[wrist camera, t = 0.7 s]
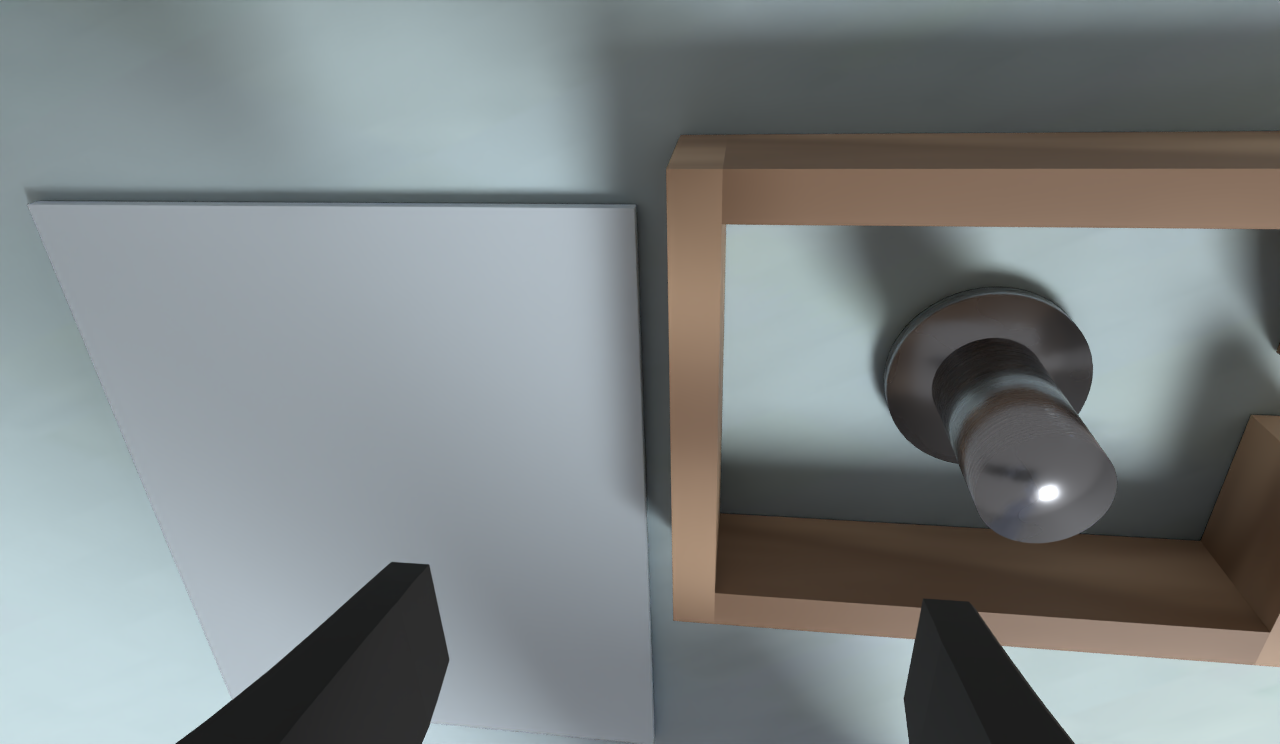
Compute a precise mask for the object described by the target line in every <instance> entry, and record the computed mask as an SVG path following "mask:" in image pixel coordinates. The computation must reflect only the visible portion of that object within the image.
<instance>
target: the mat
mask: <svg viewBox="0 0 1280 744" xmlns="http://www.w3.org/2000/svg"><path fill="white" fill-rule="evenodd" d="M27 206H28V209H29V211H30V213H31V216H32V218H33V221H34V223H35V226H36V228H37V230H38V233H39V235H40V238H41V240H42V242H43V245H44V247H45V250H46V252H47V254H48V257H49V259H50V262H51V264H52V267H53V269H54V271H55V274H56V276H57V279H58V281H59V283H60V286H61V288H62V291H63V293H64V296H65V298H66V300H67V303H68V305H69V308H70V310H71V312H72V315H73V317H74V320H75V322H76V325H77V327H78V329H79V332H80V334H81V337H82V339H83V341H84V344H85V346H86V349H87V351H88V354H89V356H90V358H91V361H92V363H93V366H94V368H95V370H96V373H97V375H98V378H99V380H100V382H101V385H102V387H103V390H104V392H105V395H106V397H107V399H108V402H109V404H110V407H111V409H112V411H113V414H114V416H115V419H116V421H117V424H118V426H119V428H120V431H121V433H122V436H123V438H124V440H125V443H126V445H127V448H128V450H129V453H130V455H131V457H132V460H133V462H134V465H135V467H136V469H137V472H138V474H139V477H140V479H141V482H142V484H143V486H144V489H145V491H146V494H147V496H148V498H149V501H150V503H151V506H152V508H153V511H154V513H155V515H156V518H157V520H158V523H159V525H160V527H161V530H162V532H163V535H164V537H165V539H166V542H167V544H168V547H169V549H170V552H171V554H172V556H173V559H174V561H175V564H176V566H177V568H178V571H179V573H180V576H181V578H182V581H183V583H184V585H185V588H186V590H187V593H188V595H189V597H190V600H191V602H192V605H193V607H194V610H195V612H196V614H197V617H198V619H199V622H200V624H201V626H202V629H203V631H204V634H205V636H206V639H207V641H208V643H209V646H210V648H211V651H212V653H213V655H214V658H215V660H216V663H217V665H218V667H219V670H220V672H221V675H222V677H223V680H224V682H225V684H226V687H227V689H228V692H229V694H230V696H231V699H232V700H233V699H234V698H235V697H236V696H238V695H239V694H240V693H241V692H243V691H244V690H245V689H246V688H247V687H249V686H250V685H251V684H252V683H254V682H255V681H256V680H257V679H259V678H260V677H261V676H262V675H264V674H265V673H266V672H267V671H268V670H270V669H271V668H272V667H273V666H274V665H275V664H277V663H278V662H279V661H280V660H281V659H282V658H284V657H285V656H286V655H287V654H288V653H289V652H290V651H292V650H293V649H294V648H295V647H296V646H297V645H298V644H300V643H301V642H302V641H303V640H304V639H305V638H306V637H308V636H309V635H310V634H311V633H312V632H313V631H314V630H316V629H317V628H318V627H319V626H320V625H321V624H322V623H323V622H325V621H326V620H327V619H328V618H329V617H330V616H331V615H332V614H333V613H335V612H336V611H337V610H338V609H339V608H340V607H341V606H342V605H343V604H345V603H346V602H347V601H348V600H349V599H350V598H351V597H352V596H353V595H354V594H356V593H357V592H358V591H359V590H360V589H361V588H362V587H363V586H365V585H366V584H367V583H368V582H369V581H370V580H371V579H372V578H374V577H375V576H376V575H377V574H378V573H379V572H380V571H381V570H383V569H384V568H385V567H386V566H387V565H388V564H389V563H391V562H402V563H417V564H429V565H430V570H431V574H432V579H433V584H434V589H435V593H436V598H437V603H438V607H439V612H440V617H441V622H442V626H443V631H444V636H445V640H446V645H447V650H448V654H449V659H450V660H449V664H448V667H447V670H446V674H445V677H444V681H443V684H442V687H441V691H440V694H439V697H438V701H437V704H436V707H435V710H434V713H433V716H432V719H431V722H430V723H434V724H444V725H454V726H464V727H475V728H485V729H495V730H505V731H516V732H526V733H536V734H546V735H556V736H567V737H577V738H587V739H597V740H608V741H618V742H628V743H638V744H654V738H655V732H654V703H653V674H652V646H651V617H650V588H649V560H648V531H647V502H646V474H645V445H644V416H643V388H642V359H641V330H640V302H639V273H638V245H637V216H636V204H463V203H280V202H97V201H36V202H33V203H30V204H27Z"/></svg>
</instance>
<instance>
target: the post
mask: <svg viewBox="0 0 1280 744" xmlns="http://www.w3.org/2000/svg"><path fill="white" fill-rule="evenodd" d="M1092 376H1093V364H1092V356H1091V352H1090V349H1089V346H1088V343H1087V341H1086V339H1085V337H1084V336H1083V334H1082V332H1081V331H1080V330H1079V328H1078V327H1077V326H1076V325H1075V323H1074V322H1073V321H1072V320H1071V319H1070V318H1069V316H1068V315H1067V314H1066V313H1065V312H1063V311H1062V310H1061V309H1060V308H1059V307H1058V306H1056V305H1055V304H1054V303H1052V302H1051V301H1049V300H1047V299H1045V298H1043V297H1041V296H1039V295H1037V294H1034V293H1031V292H1028V291H1025V290H1020V289H1015V288H1006V287H986V288H979V289H972V290H968V291H965V292H961V293H957V294H955V295H952V296H950V297H947V298H945V299H943V300H941V301H939V302H937V303H935V304H933V305H932V306H930V307H929V308H927V309H926V310H924V311H923V312H921V313H920V314H919V315H918V316H917V317H915V318H914V319H913V320H912V321H911V322H910V323H909V324H908V325H907V326H906V327H905V328H904V329H903V331H902V332H901V334H900V335H899V336H898V338H897V339H896V341H895V343H894V344H893V346H892V348H891V350H890V353H889V355H888V358H887V361H886V365H885V370H884V392H885V396H886V400H887V404H888V407H889V411H890V414H891V416H892V418H893V421H894V423H895V424H896V426H897V427H898V429H899V431H900V432H901V433H902V434H903V435H904V437H905V438H906V439H907V440H908V441H909V442H911V443H912V444H913V445H914V446H915V447H917V448H918V449H920V450H921V451H923V452H925V453H927V454H929V455H931V456H933V457H935V458H938V459H941V460H944V461H947V462H952V463H957V464H959V466H960V469H961V471H962V474H963V476H964V479H965V481H966V484H967V486H968V489H969V491H970V494H971V496H972V499H973V501H974V504H975V506H976V509H977V511H978V513H979V515H980V517H981V519H982V520H983V521H984V523H985V524H986V525H987V526H988V527H989V528H990V529H992V530H993V531H994V532H996V533H998V534H999V535H1001V536H1003V537H1006V538H1008V539H1011V540H1014V541H1019V542H1025V543H1049V542H1055V541H1059V540H1063V539H1067V538H1069V537H1072V536H1075V535H1077V534H1079V533H1081V532H1083V531H1085V530H1086V529H1088V528H1089V527H1091V526H1092V525H1093V524H1095V523H1096V522H1097V521H1098V520H1099V519H1100V518H1101V517H1102V516H1103V515H1104V514H1105V513H1106V512H1107V510H1108V509H1109V507H1110V506H1111V504H1112V502H1113V500H1114V497H1115V494H1116V490H1117V476H1116V472H1115V469H1114V466H1113V465H1112V463H1111V461H1110V460H1109V458H1108V457H1107V455H1106V454H1105V452H1104V451H1103V450H1102V448H1101V447H1100V445H1099V444H1098V443H1097V441H1096V440H1095V438H1094V437H1093V435H1092V434H1091V433H1090V431H1089V430H1088V428H1087V427H1086V425H1085V424H1084V423H1083V421H1082V420H1081V418H1080V417H1079V416H1078V414H1079V412H1080V411H1081V409H1082V407H1083V405H1084V403H1085V401H1086V399H1087V396H1088V394H1089V391H1090V387H1091V382H1092Z"/></svg>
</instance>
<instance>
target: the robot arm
mask: <svg viewBox="0 0 1280 744" xmlns="http://www.w3.org/2000/svg"><path fill="white" fill-rule="evenodd" d="M449 660H450V659H449V654H448V650H447V645H446V640H445V636H444V631H443V626H442V622H441V617H440V612H439V607H438V603H437V598H436V593H435V589H434V584H433V579H432V574H431V570H430V565H429V564H417V563H402V562H391V563H389V564H388V565H387V566H386V567H385V568H384V569H383V570H381V571H380V572H379V573H378V574H377V575H376V576H375V577H374V578H372V579H371V580H370V581H369V582H368V583H367V584H366V585H365V586H363V587H362V588H361V589H360V590H359V591H358V592H357V593H356V594H354V595H353V596H352V597H351V598H350V599H349V600H348V601H347V602H346V603H345V604H343V605H342V606H341V607H340V608H339V609H338V610H337V611H336V612H335V613H333V614H332V615H331V616H330V617H329V618H328V619H327V620H326V621H325V622H323V623H322V624H321V625H320V626H319V627H318V628H317V629H316V630H314V631H313V632H312V633H311V634H310V635H309V636H308V637H306V638H305V639H304V640H303V641H302V642H301V643H300V644H298V645H297V646H296V647H295V648H294V649H293V650H292V651H290V652H289V653H288V654H287V655H286V656H285V657H284V658H282V659H281V660H280V661H279V662H278V663H277V664H275V665H274V666H273V667H272V668H271V669H270V670H268V671H267V672H266V673H265V674H264V675H262V676H261V677H260V678H259V679H257V680H256V681H255V682H254V683H252V684H251V685H250V686H249V687H247V688H246V689H245V690H244V691H243V692H241V693H240V694H239V695H238V696H236V697H235V698H234V699H233V700H231V701H230V702H229V703H228V704H226V705H225V706H224V707H223V708H222V709H220V710H219V711H218V712H217V713H215V714H214V715H213V716H212V717H210V718H209V719H208V720H206V721H205V722H204V723H203V724H201V725H200V726H199V727H197V728H196V729H195V730H193V731H192V732H191V733H189V734H188V735H187V736H185V737H184V738H182V739H181V740H180V741H178V742H177V743H176V744H422V742H423V739H424V737H425V735H426V732H427V730H428V728H429V725H430V722H431V719H432V716H433V713H434V710H435V707H436V704H437V701H438V697H439V694H440V691H441V687H442V684H443V681H444V677H445V674H446V670H447V667H448V664H449ZM904 704H905V712H906V721H907V729H908V737H909V744H1075V743H1074V742H1073V741H1072V739H1071V738H1070V737H1069V736H1068V734H1067V733H1066V732H1065V731H1064V729H1063V728H1062V727H1061V725H1060V724H1059V723H1058V722H1057V720H1056V719H1055V718H1054V717H1053V715H1052V714H1051V713H1050V711H1049V710H1048V709H1047V708H1046V706H1045V705H1044V704H1043V702H1042V701H1041V700H1040V698H1039V697H1038V696H1037V694H1036V693H1035V692H1034V690H1033V689H1032V688H1031V686H1030V685H1029V684H1028V682H1027V681H1026V679H1025V678H1024V677H1023V675H1022V674H1021V673H1020V671H1019V670H1018V668H1017V667H1016V666H1015V664H1014V663H1013V662H1012V660H1011V659H1010V657H1009V656H1008V655H1007V653H1006V652H1005V650H1004V649H1003V648H1002V646H1001V645H1000V643H999V642H998V640H997V639H996V638H995V636H994V635H993V633H992V632H991V630H990V629H989V627H988V626H987V625H986V623H985V622H984V620H983V619H982V617H981V616H980V614H979V613H978V611H977V610H976V609H975V607H974V606H973V605H972V604H971V603H970V602H968V601H954V600H939V599H925V598H923V601H922V606H921V611H920V617H919V622H918V627H917V632H916V638H915V643H914V648H913V653H912V658H911V664H910V669H909V674H908V679H907V685H906V690H905V695H904Z"/></svg>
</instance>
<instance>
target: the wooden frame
mask: <svg viewBox="0 0 1280 744" xmlns="http://www.w3.org/2000/svg"><path fill="white" fill-rule="evenodd" d="M666 193H667V256H668V319H669V382H670V445H671V508H672V571H673V621H683V622H696V623H709V624H723V625H736V626H749V627H762V628H775V629H788V630H801V631H814V632H827V633H841V634H854V635H867V636H880V637H893V638H906V639H915V638H916V632H917V627H918V622H919V617H920V611H921V606H922V601H923V598H925V599H939V600H954V601H968V602H970V603H971V604H972V605H973V606H974V607H975V609H976V610H977V611H978V613H979V614H980V616H981V617H982V619H983V620H984V622H985V623H986V625H987V626H988V627H989V629H990V630H991V632H992V633H993V635H994V636H995V638H996V639H997V640H998V642H999V643H1000V645H1001V646H1011V647H1024V648H1037V649H1050V650H1063V651H1077V652H1090V653H1103V654H1116V655H1129V656H1142V657H1155V658H1168V659H1182V660H1195V661H1208V662H1221V663H1234V664H1247V665H1260V666H1273V667H1280V416H1270V415H1251V416H1250V419H1249V421H1248V424H1247V426H1246V429H1245V431H1244V434H1243V436H1242V439H1241V441H1240V444H1239V446H1238V449H1237V451H1236V454H1235V456H1234V459H1233V461H1232V464H1231V466H1230V469H1229V471H1228V474H1227V476H1226V479H1225V481H1224V484H1223V486H1222V489H1221V491H1220V494H1219V496H1218V499H1217V501H1216V504H1215V506H1214V509H1213V511H1212V514H1211V516H1210V519H1209V521H1208V524H1207V526H1206V529H1205V531H1204V534H1203V536H1202V539H1201V541H1192V540H1175V539H1157V538H1140V537H1123V536H1105V535H1088V534H1077V535H1075V536H1072V537H1069V538H1067V539H1063V540H1059V541H1055V542H1049V543H1025V542H1019V541H1014V540H1011V539H1008V538H1006V537H1003V536H1001V535H999V534H998V533H996V532H994V531H993V530H992V529H984V528H966V527H949V526H932V525H914V524H897V523H879V522H862V521H845V520H827V519H810V518H792V517H775V516H758V515H740V514H723V513H720V487H721V440H722V393H723V346H724V299H725V253H726V224H745V225H860V226H974V227H1089V228H1203V229H1280V131H1212V132H1056V133H899V134H742V135H680V137H679V140H678V142H677V144H676V147H675V149H674V152H673V154H672V156H671V159H670V161H669V163H668V166H667V168H666ZM1276 352H1277V353H1278V354H1279V355H1280V344H1279V346H1278V349H1277V351H1276Z"/></svg>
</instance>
